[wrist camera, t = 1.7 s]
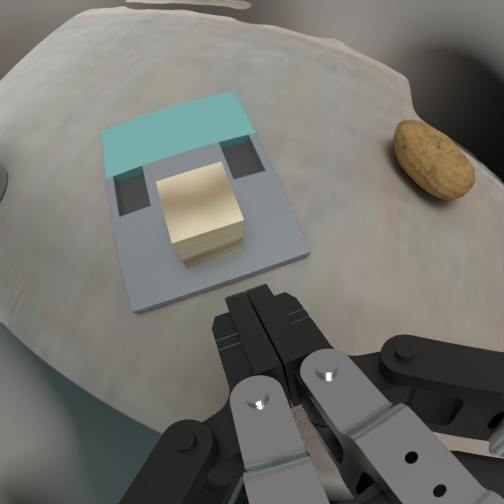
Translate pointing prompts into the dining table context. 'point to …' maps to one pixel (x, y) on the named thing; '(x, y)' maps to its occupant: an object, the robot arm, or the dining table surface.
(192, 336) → the dining table surface
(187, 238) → the maple block
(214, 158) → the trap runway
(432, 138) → the potato
